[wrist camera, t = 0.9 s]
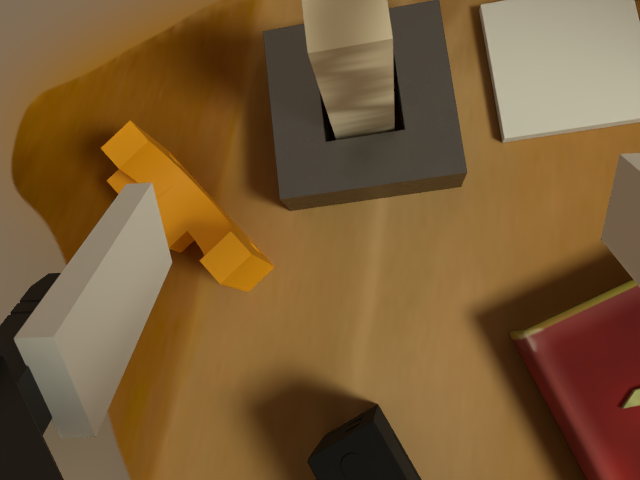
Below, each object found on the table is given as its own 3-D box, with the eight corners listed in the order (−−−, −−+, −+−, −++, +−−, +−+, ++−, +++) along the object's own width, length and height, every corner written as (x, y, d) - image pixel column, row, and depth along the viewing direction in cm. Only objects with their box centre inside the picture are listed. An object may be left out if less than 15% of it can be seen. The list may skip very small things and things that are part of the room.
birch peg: (387, 88, 40) (381, -39, 26) (395, 140, 39) (392, 38, 25) (332, 97, 40) (299, -23, 27) (339, 149, 40) (307, 53, 26)
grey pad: (624, -15, 39) (629, -22, 38) (655, 119, 37) (661, 115, 36) (479, 11, 40) (480, 4, 39) (502, 142, 38) (504, 138, 37)
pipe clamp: (128, 192, 42) (80, 166, 35) (170, 152, 42) (130, 120, 35) (230, 309, 39) (198, 304, 33) (275, 266, 39) (251, 254, 33)
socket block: (435, 27, 40) (438, -1, 37) (461, 186, 38) (467, 172, 35) (274, 56, 41) (262, 31, 38) (290, 210, 39) (279, 199, 36)
